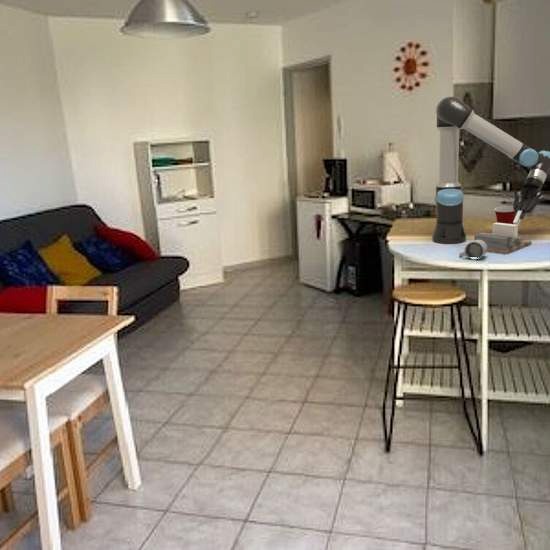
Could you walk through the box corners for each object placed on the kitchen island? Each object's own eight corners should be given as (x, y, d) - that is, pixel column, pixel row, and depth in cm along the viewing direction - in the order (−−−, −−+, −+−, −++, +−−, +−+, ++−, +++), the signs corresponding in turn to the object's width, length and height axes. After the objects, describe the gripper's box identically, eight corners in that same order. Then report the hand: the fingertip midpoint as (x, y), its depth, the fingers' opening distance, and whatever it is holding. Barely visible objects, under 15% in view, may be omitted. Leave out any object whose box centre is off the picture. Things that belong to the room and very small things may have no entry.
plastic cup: (487, 232, 279) (488, 207, 276) (504, 229, 283) (506, 205, 279) (504, 235, 269) (505, 210, 266) (521, 232, 273) (523, 207, 270)
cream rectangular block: (495, 240, 255) (496, 222, 252) (517, 242, 247) (518, 224, 245) (492, 241, 253) (492, 223, 251) (513, 244, 245) (514, 226, 243)
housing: (496, 240, 262) (497, 226, 260) (531, 244, 250) (532, 229, 248) (471, 249, 248) (471, 234, 246) (506, 254, 236) (507, 239, 234)
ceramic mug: (488, 256, 236) (488, 238, 234) (483, 260, 229) (483, 242, 227) (462, 254, 241) (462, 236, 239) (456, 259, 235) (456, 241, 233)
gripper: (551, 187, 256) (532, 230, 250) (523, 186, 266) (504, 227, 260) (546, 177, 251) (527, 220, 245) (518, 176, 261) (498, 218, 255)
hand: (515, 224), depth 253 cm, fingers closed
